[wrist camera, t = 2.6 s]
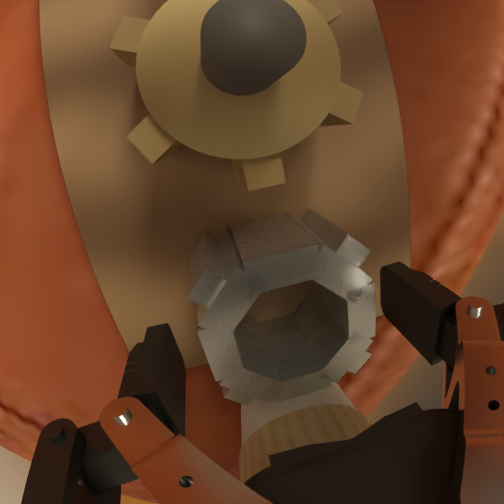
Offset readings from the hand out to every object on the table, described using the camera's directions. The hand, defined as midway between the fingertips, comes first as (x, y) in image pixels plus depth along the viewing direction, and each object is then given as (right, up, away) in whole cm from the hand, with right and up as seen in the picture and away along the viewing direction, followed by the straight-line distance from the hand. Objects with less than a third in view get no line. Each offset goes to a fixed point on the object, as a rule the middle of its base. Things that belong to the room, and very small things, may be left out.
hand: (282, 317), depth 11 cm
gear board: (-2, +10, 0) cm, 11 cm away
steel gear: (0, +1, +2) cm, 2 cm away
